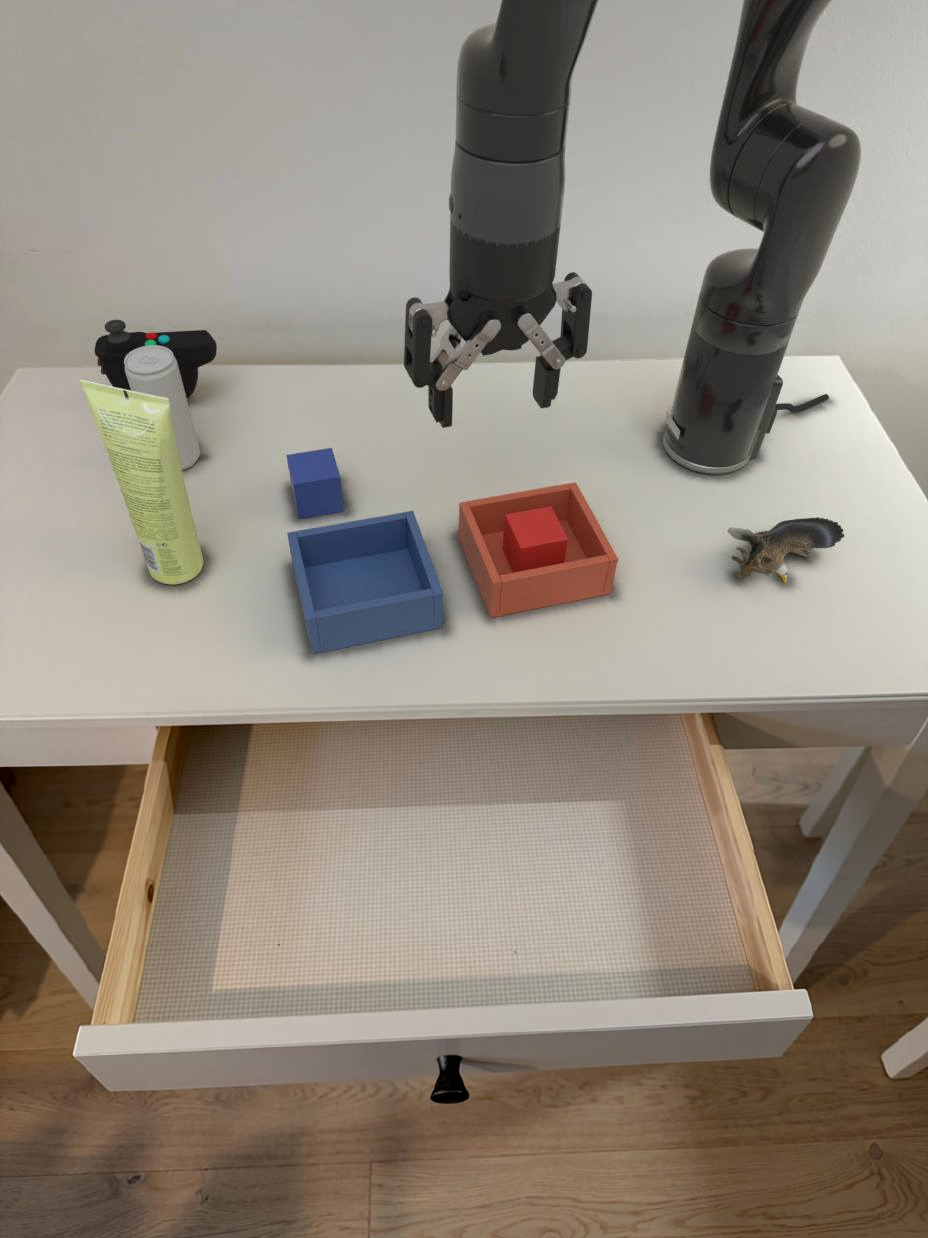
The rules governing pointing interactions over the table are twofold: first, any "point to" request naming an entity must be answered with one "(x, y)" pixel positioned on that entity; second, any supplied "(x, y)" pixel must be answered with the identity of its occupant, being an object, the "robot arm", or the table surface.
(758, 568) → the eagle figurine
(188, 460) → the upturned grey cup
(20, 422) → the table surface
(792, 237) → the robot arm
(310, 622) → the blue bin
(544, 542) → the red block
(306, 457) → the blue block
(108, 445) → the tube
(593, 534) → the red bin
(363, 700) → the table surface
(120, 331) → the controller
